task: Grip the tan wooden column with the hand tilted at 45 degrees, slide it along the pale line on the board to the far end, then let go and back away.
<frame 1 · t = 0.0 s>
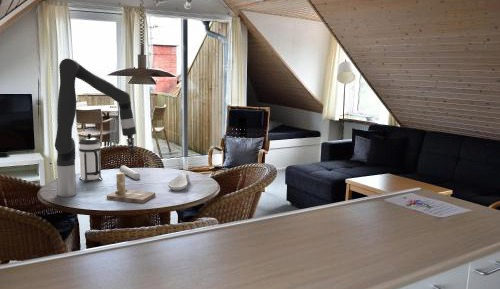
hand: (133, 154, 238), 22 cm above the table, tool pointing down, fingers open, 8 cm apart
tan wooden column: (121, 192, 233), point 2 cm above the table, touching board
tube: (130, 176, 278), on the table
board: (131, 197, 231), on the table
coffee press: (92, 180, 264), on the table
spoon rest: (180, 187, 255), on the table
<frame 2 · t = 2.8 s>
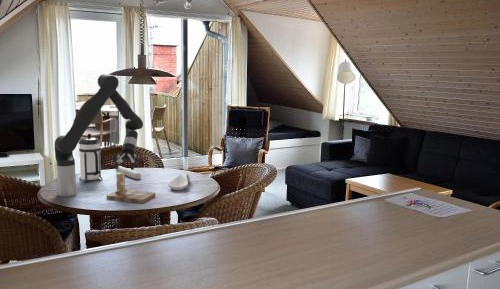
hand: (124, 169, 238), 14 cm above the table, tool tilted 45°, fingers open, 8 cm apart
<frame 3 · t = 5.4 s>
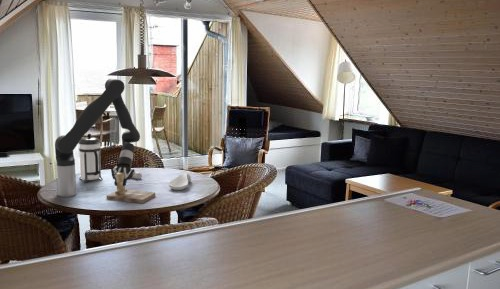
hand: (119, 185, 230), 7 cm above the table, tool tilted 45°, fingers closed on tan wooden column, 3 cm apart
tan wooden column: (121, 192, 233), point 2 cm above the table, touching board, gripper
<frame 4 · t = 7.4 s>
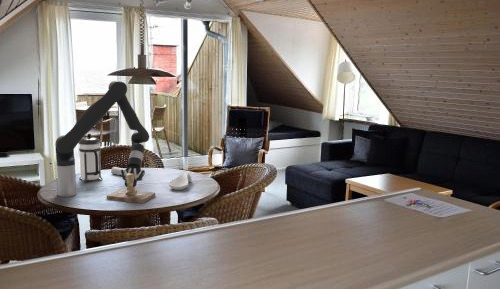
hand: (130, 186, 229), 7 cm above the table, tool tilted 45°, fingers closed on tan wooden column, 3 cm apart
tan wooden column: (131, 193, 232), point 2 cm above the table, touching gripper
when the fingers open (7 cm above the table, at t = 9.5 s): tan wooden column stays where it is, resting on board.
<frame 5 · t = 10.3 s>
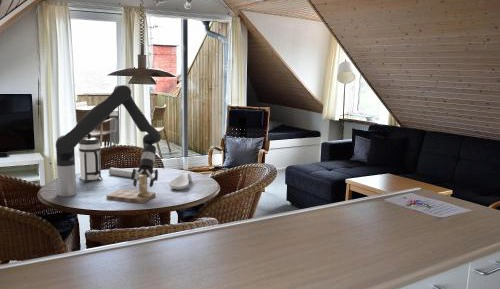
hand: (142, 186, 227), 7 cm above the table, tool tilted 45°, fingers open, 8 cm apart
tan wooden column: (143, 194, 230), point 2 cm above the table, touching board
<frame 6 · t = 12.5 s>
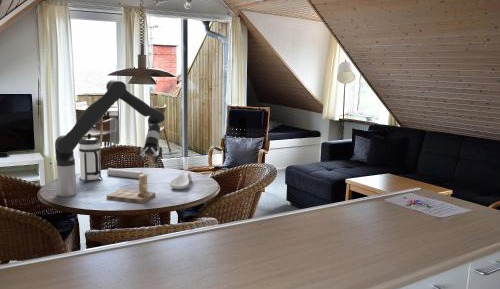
hand: (147, 162, 238), 18 cm above the table, tool tilted 45°, fingers open, 8 cm apart
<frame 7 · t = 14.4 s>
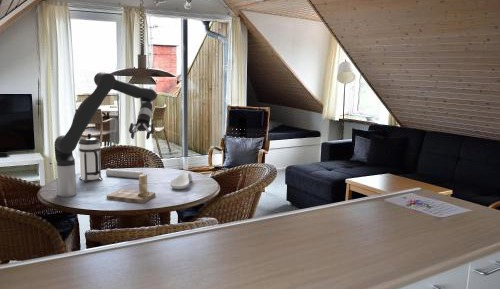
hand: (139, 138, 242), 31 cm above the table, tool tilted 45°, fingers open, 8 cm apart
at the end: tan wooden column 0.4 cm from the target spot, point 2.0 cm above the table; tan wooden column tilted 0°; the gripper is holding nothing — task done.
